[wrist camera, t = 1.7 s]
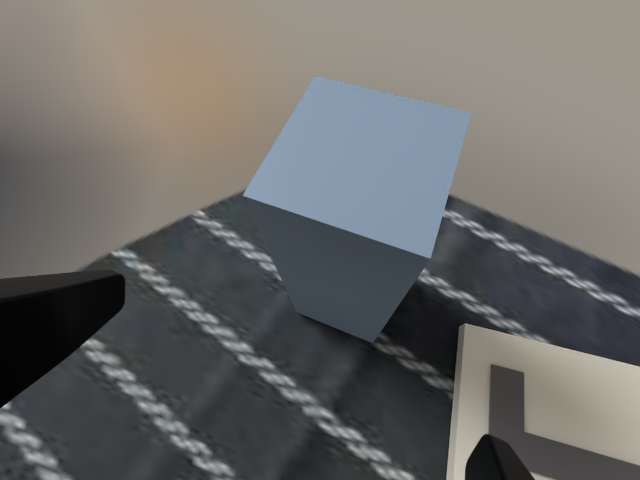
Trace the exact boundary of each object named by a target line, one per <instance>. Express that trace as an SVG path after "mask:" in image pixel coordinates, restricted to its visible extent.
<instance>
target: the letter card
mask: <svg viewBox="0 0 640 480" xmlns="http://www.w3.org/2000/svg"><path fill="white" fill-rule="evenodd" d="M484 434H491V435H493V436H495V437H497V438H500V439H502V440H504V441H506V442H507V443H509V444H510V446H511V447H512V448H513V450H514V451H515V452H516V454H517V455H518V457H519V458H520V459H521V461H522V462H523V463H524V465H525V466H526V468H527V469H528V470H529V472H530V473H531V474H532V476H533V477H534V479H535V480H640V367H638V366H634V365H630V364H626V363H622V362H618V361H614V360H610V359H606V358H602V357H598V356H594V355H590V354H586V353H582V352H578V351H574V350H570V349H566V348H562V347H558V346H554V345H550V344H546V343H542V342H538V341H534V340H530V339H526V338H522V337H518V336H514V335H510V334H506V333H502V332H498V331H494V330H490V329H486V328H482V327H478V326H474V325H470V324H466V323H465V324H463V325H461V326H459V333H458V345H457V357H456V369H455V381H454V393H453V405H452V417H451V429H450V441H449V453H448V465H447V477H446V480H465V468H466V463H467V460H468V458H469V456H470V455H471V453H472V451H473V450H474V448H475V447H476V445H477V443H478V442H479V440H480V438H481V437H482V436H483V435H484Z"/></svg>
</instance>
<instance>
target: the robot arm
mask: <svg viewBox="0 0 640 480" xmlns="http://www.w3.org/2000/svg"><path fill="white" fill-rule="evenodd" d="M124 303H125V278H124V276H123V275H122V274H120V273H117V272H115V271H113V270H109V269H105V270H94V271H83V272H72V273H62V274H61V273H60V274H49V275H38V276H27V277H16V278H5V279H0V408H1V407H3V406H4V405H5V404H7V403H8V402H9V401H11V400H12V399H13V398H15V397H16V396H17V395H19V394H20V393H21V392H22V391H24V390H25V389H26V388H28V387H29V386H30V385H32V384H33V383H34V382H36V381H37V380H38V379H40V378H41V377H42V376H44V375H45V374H46V373H48V372H49V371H50V370H52V369H53V368H54V367H55V366H57V365H58V364H59V363H61V362H62V361H63V360H65V359H66V358H67V357H68V356H70V355H71V354H72V353H73V352H74V351H75V350H77V349H78V348H79V347H80V346H81V345H82V344H83V343H85V342H86V341H87V340H88V339H89V338H90V337H91V336H92V335H94V334H95V333H96V332H97V331H98V330H99V329H100V328H101V327H102V326H104V325H105V324H106V323H107V322H108V321H109V320H110V319H111V318H113V317H114V316H115V315H116V314H117V313H118V312H119V311H120V310H121V309H122V308H123V306H124ZM465 480H535V479H534V477H533V476H532V474H531V473H530V472H529V470H528V469H527V468H526V466H525V465H524V463H523V462H522V461H521V459H520V458H519V457H518V455H517V454H516V452H515V451H514V450H513V448H512V447H511V446H510V444H509V443H507V442H506V441H504V440H502V439H500V438H497V437H495V436H493V435H491V434H484V435H483V436H482V437H481V438H480V440H479V442H478V443H477V445H476V447H475V448H474V450H473V451H472V453H471V455H470V456H469V458H468V460H467V463H466V468H465Z"/></svg>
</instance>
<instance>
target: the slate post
mask: <svg viewBox="0 0 640 480" xmlns="http://www.w3.org/2000/svg"><path fill="white" fill-rule="evenodd" d="M470 116H471V113H470V112H465V111H461V110H457V109H452V108H448V107H444V106H440V105H436V104H432V103H427V102H423V101H419V100H414V99H410V98H406V97H402V96H397V95H393V94H389V93H385V92H380V91H376V90H372V89H368V88H363V87H359V86H354V85H350V84H346V83H342V82H338V81H333V80H329V79H325V78H320V77H316V76H315V78H314V79H313V81H312V83H311V84H310V86H309V88H308V89H307V91H306V93H305V94H304V96H303V97H302V99H301V101H300V102H299V104H298V106H297V107H296V109H295V111H294V112H293V114H292V116H291V117H290V119H289V120H288V122H287V124H286V126H285V127H284V129H283V130H282V132H281V134H280V135H279V137H278V138H277V140H276V142H275V144H274V145H273V147H272V148H271V150H270V152H269V153H268V155H267V157H266V158H265V160H264V162H263V163H262V165H261V167H260V168H259V170H258V171H257V173H256V175H255V176H254V178H253V180H252V181H251V183H250V185H249V186H248V188H247V189H246V191H245V193H244V194H243V197H244V200H245V202H246V204H247V206H248V208H249V210H250V212H251V215H252V217H253V219H254V221H255V223H256V225H257V228H258V230H259V232H260V234H261V236H262V238H263V241H264V243H265V245H266V247H267V249H268V251H269V253H270V256H271V258H272V260H273V262H274V264H275V266H276V269H277V271H278V273H279V275H280V277H281V279H282V281H283V284H284V286H285V288H286V290H287V292H288V294H289V297H290V299H291V301H292V303H293V305H294V307H295V310H296V312H297V313H299V314H302V315H304V316H307V317H309V318H312V319H314V320H317V321H319V322H321V323H324V324H326V325H329V326H331V327H334V328H336V329H339V330H341V331H344V332H346V333H349V334H351V335H353V336H356V337H358V338H361V339H363V340H366V341H368V342H371V343H373V342H374V341H375V339H376V338H377V336H378V335H379V333H380V332H381V330H382V329H383V327H384V326H385V325H386V323H387V322H388V320H389V319H390V317H391V316H392V314H393V313H394V311H395V310H396V308H397V307H398V305H399V304H400V303H401V301H402V300H403V298H404V297H405V295H406V294H407V292H408V291H409V289H410V288H411V286H412V285H413V283H414V282H415V281H416V279H417V278H418V276H419V275H420V273H421V272H422V270H423V269H424V267H425V266H426V264H427V263H428V261H429V260H430V258H431V255H432V251H433V248H434V244H435V241H436V237H437V234H438V230H439V226H440V223H441V219H442V216H443V212H444V209H445V205H446V202H447V198H448V195H449V191H450V187H451V184H452V180H453V177H454V173H455V169H456V166H457V162H458V159H459V155H460V152H461V148H462V144H463V141H464V138H465V134H466V131H467V127H468V123H469V120H470Z"/></svg>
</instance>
